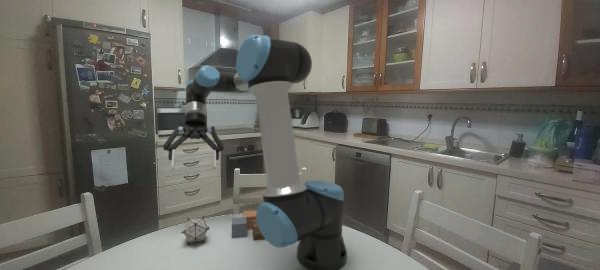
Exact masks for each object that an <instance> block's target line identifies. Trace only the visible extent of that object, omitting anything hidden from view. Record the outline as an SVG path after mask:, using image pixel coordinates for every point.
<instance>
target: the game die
mask: <svg viewBox="0 0 600 270" xmlns="http://www.w3.org/2000/svg"><path fill="white" fill-rule="evenodd" d="M204 219H205V215H204V216H202V217H200V218H192V219H190V217H187V223H186V225H185V228H184V229H183V230H182V231H181V234H184V235H185V238H186V240H187V245H188V246H189V245H190V243H195V242H202V243H206V241H205V237H206V234H207V232H208V231H209V230H210V227H209V226H208V225H207V224H206V223H207V222H206V221H205V220H204Z"/></svg>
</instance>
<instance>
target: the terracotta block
mask: <svg viewBox="0 0 600 270" xmlns="http://www.w3.org/2000/svg"><path fill="white" fill-rule="evenodd" d="M256 212H257V210H255V209H254V210H245V211H242V217H246V220H247V231H248V230H252V220H257V219H256Z"/></svg>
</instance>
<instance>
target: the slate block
mask: <svg viewBox="0 0 600 270" xmlns="http://www.w3.org/2000/svg"><path fill="white" fill-rule="evenodd" d="M247 237H248V230H247V220H246V217H243V216H242V217H232V218H231V238H232V239H236V238H237V239H238V238H247Z"/></svg>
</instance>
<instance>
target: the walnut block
mask: <svg viewBox="0 0 600 270" xmlns="http://www.w3.org/2000/svg"><path fill="white" fill-rule="evenodd" d="M251 230H252V238H253V239H252V240H253V241H263V240H266V239H265V237H264V236H263V235H262V233H261V231H260V229H259V227H258V224H257V220H252V229H251Z"/></svg>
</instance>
